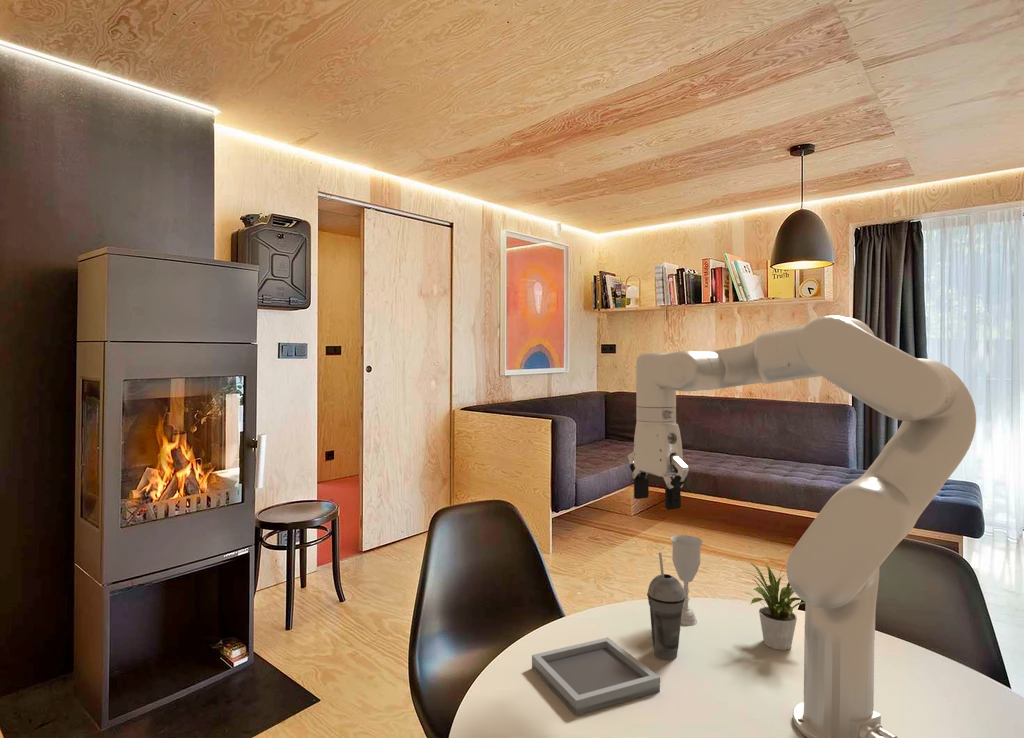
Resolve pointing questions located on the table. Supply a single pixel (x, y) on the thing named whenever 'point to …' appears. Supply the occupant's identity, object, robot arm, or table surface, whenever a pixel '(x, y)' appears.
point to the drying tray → (594, 675)
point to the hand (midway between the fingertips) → (656, 503)
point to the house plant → (776, 612)
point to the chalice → (686, 568)
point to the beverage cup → (665, 613)
